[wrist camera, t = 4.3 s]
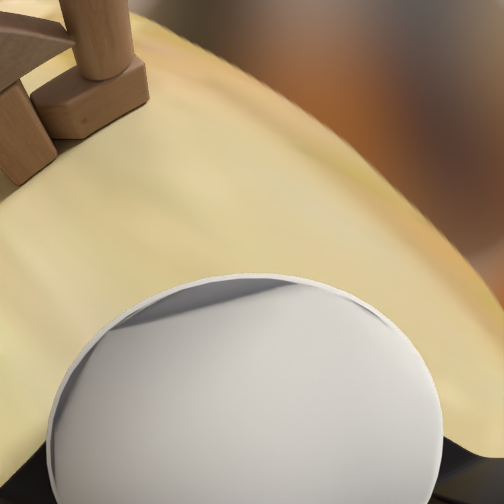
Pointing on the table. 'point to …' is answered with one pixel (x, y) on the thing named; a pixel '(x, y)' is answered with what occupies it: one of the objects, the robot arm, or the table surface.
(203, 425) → the post
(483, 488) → the robot arm
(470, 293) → the table surface
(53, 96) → the toy block tower
